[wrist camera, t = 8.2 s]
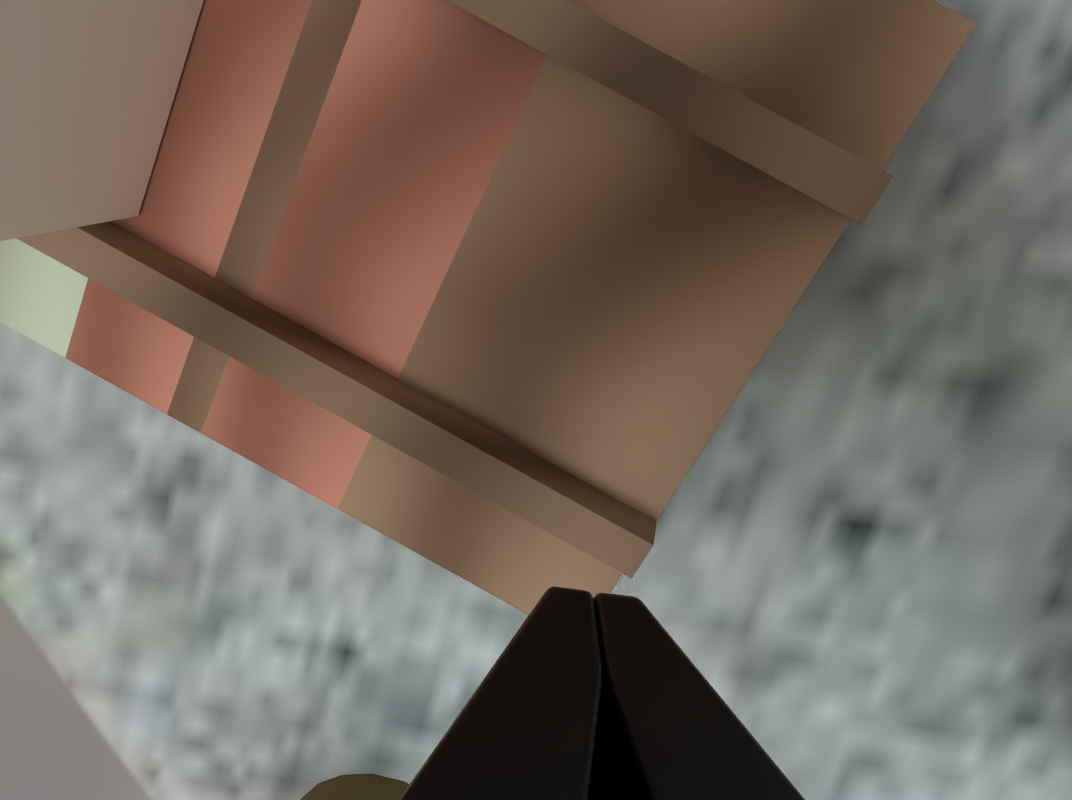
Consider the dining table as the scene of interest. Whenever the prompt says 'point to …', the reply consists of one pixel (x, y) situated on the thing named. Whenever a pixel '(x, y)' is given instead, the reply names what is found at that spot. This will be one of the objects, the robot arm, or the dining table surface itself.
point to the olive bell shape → (358, 788)
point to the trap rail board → (485, 250)
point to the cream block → (84, 106)
